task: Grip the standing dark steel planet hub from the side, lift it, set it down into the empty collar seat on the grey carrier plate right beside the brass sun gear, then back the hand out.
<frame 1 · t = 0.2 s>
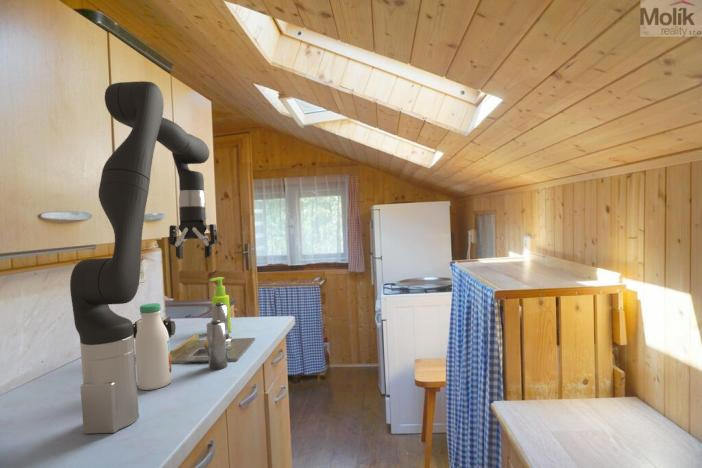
hand: (194, 258, 127), 29 cm above the countertop, tool pointing down, fingers open, 8 cm apart
carrier plate: (214, 351, 127), on the countertop
planet hub: (218, 366, 113), on the countertop
soap dispenser: (221, 333, 148), on the countertop
milk bottle: (155, 385, 102), on the countertop
pneumatic valve: (155, 354, 127), on the countertop
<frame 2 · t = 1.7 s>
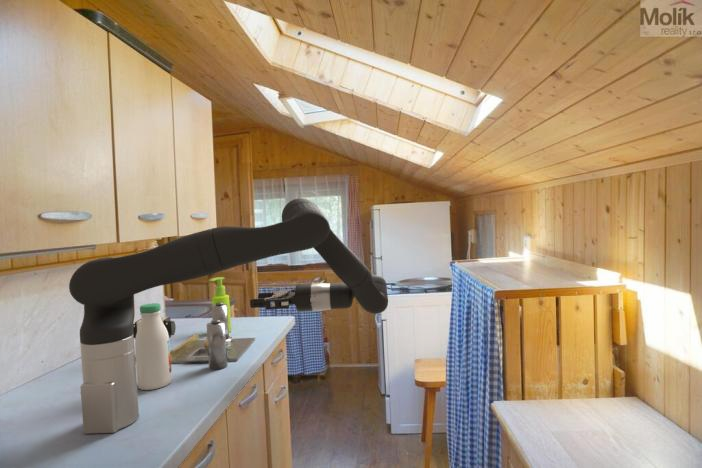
hand: (254, 300, 112), 18 cm above the countertop, tool horizontal, fingers open, 8 cm apart
nothing on the countertop moved.
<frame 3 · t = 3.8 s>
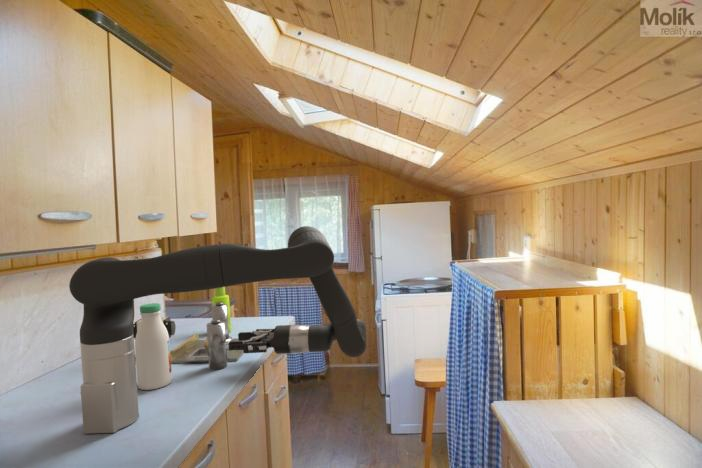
hand: (233, 341, 113), 7 cm above the countertop, tool horizontal, fingers open, 8 cm apart
nothing on the countertop moved.
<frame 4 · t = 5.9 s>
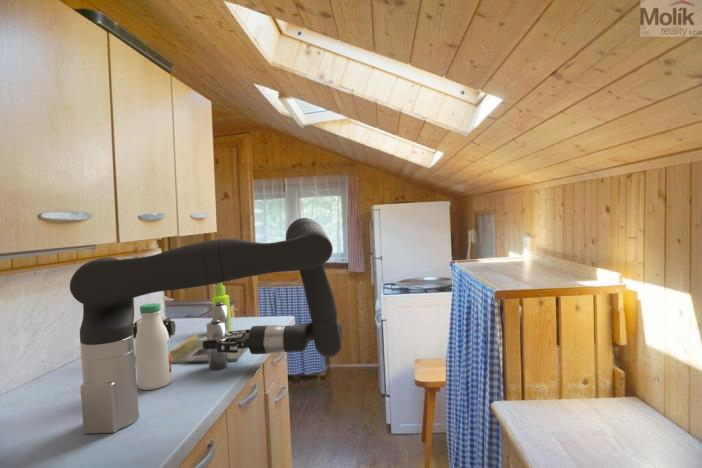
hand: (207, 341, 113), 7 cm above the countertop, tool horizontal, fingers closed on planet hub, 4 cm apart
planet hub: (218, 366, 113), on the countertop, touching gripper
everything else where it was.
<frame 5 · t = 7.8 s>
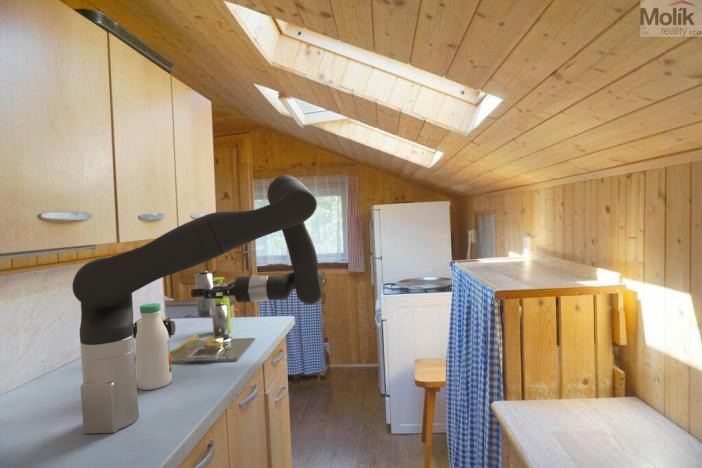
hand: (195, 291, 120), 20 cm above the countertop, tool horizontal, fingers closed on planet hub, 4 cm apart
planet hub: (206, 314, 120), point 13 cm above the countertop, touching gripper
everything else where it was.
when the fingers open (10 cm above the countertop, at t = 10.2 s): planet hub drops 2 cm, resting on carrier plate.
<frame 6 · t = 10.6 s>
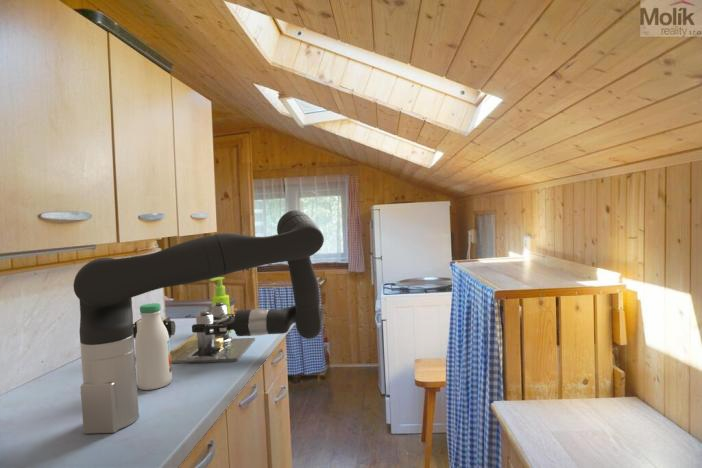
hand: (198, 324, 120), 10 cm above the countertop, tool horizontal, fingers open, 8 cm apart
planet hub: (207, 355, 121), point 1 cm above the countertop, touching carrier plate
everything else where it was.
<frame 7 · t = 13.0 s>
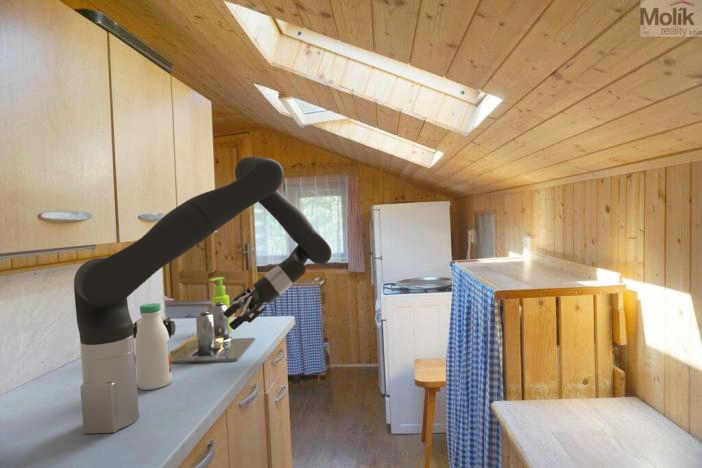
hand: (228, 321, 117), 11 cm above the countertop, tool tilted 55°, fingers open, 8 cm apart
nothing on the countertop moved.
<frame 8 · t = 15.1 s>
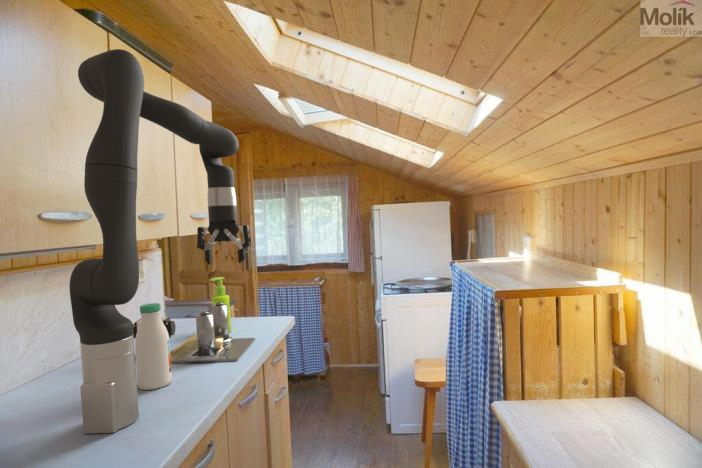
hand: (225, 263, 114), 28 cm above the countertop, tool pointing down, fingers open, 8 cm apart
nothing on the countertop moved.
at the end: planet hub 0.1 cm from the target spot on the carrier plate, point 0.8 cm above the carrier plate's base; planet hub tilted 0°; the gripper is holding nothing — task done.
